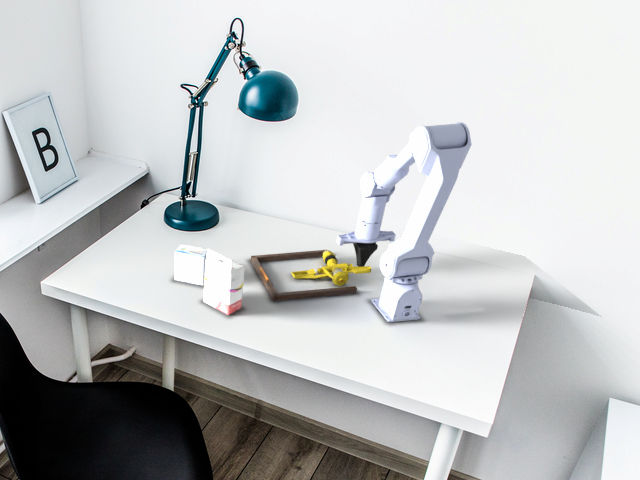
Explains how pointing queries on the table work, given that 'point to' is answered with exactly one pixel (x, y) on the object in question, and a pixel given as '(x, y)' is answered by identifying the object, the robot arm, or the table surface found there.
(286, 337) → the table surface
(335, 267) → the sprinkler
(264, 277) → the frame
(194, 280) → the medicine box
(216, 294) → the ink cartridge box
